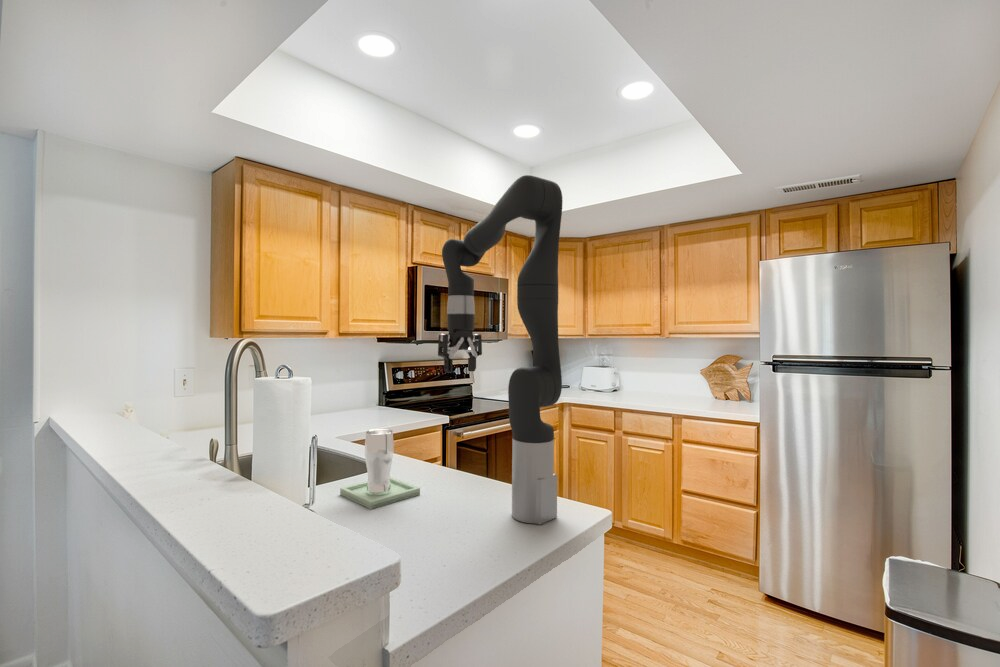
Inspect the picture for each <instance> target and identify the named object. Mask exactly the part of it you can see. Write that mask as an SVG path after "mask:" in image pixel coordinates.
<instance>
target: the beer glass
mask: <svg viewBox="0 0 1000 667" xmlns="http://www.w3.org/2000/svg"><path fill="white" fill-rule="evenodd" d="M393 432H394V430H392V429H387V428H377V429H370V430H366V431H365V439H364V460H365V466H366V471H367V472H366V473H367V481H368V484H367V489H366V493H367V494H368V495H372V496H381V495H386V494H388V493H390V492H391V484H390V477H391V471H392V465H393V464H392V463H393V458H394V447H395V446H394V435H393V434H394V433H393Z"/></svg>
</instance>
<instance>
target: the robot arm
mask: <svg viewBox="0 0 1000 667" xmlns="http://www.w3.org/2000/svg"><path fill="white" fill-rule="evenodd" d="M562 215H563V193H562V190H561V187H560V185H559V184H557V183H556V182H555V181H552V180H550V179H545V178H542V177H539V176H534V175H528V174H525V175H522V176H519V177H518V178H517V179H516V180H515V181H514V182H512V184H511V185H510V186H509V187H508V188H507V189H506V190H505V192H504V193H503V194H502V196H501V197H500V198H499V200H498V201H497V202H496V203H495V205H494V206H493V207H492V209H490V210H489V212H488V214H486V215H485V216H484V218H482V219H481V220H480V221H479V222H477V223H476V224H475V225H474V226H473V227H471V228H470V229H468V231H467V232H466V233H465V235H464V237H463V239H456V238H450V239H447V240H446V241H445V242H444V243H443V246H442V249H441V256H442V261H443V265H444V269H445V273H446V278H447V282H448V287H447V288H448V290H447V292H448V293H447V294H448V295H447V298H448V299H447V304H446V311H447V312H446V319H447V320H446V329H447V330H448V333H440V334H438V344H437V356H438V357H441V358H443V368H444V369H443V370H444V372H445V373H447V374H453V372H454V370H453V367H454V365H453V362H454V360H453V357H454V355H455V353H457V352H458V351H464V352H465V353H466V354H467V356H468V358H467V363H468V364H467V371H468V372H475V371H476V369H477V358H478V357H479V356H482V355H483V344H482V340H483V338H482V334H479V333H474V332H473V331H474V330H475V324H476V323H475V321H476V320H475V318H476V317H475V315H476V314H475V312H476V310H475V308H476V307H475V306H476V304H475V288H474V287H475V286H474V285H475V283H474V282H475V280H474V278H473V276H471V275H470V274H467V273H465V272H463V270H462V268H461V267H465V268H466V267H467V268H470V267H474V266H477V264H479V263H480V262H481V260H482V258H483V257H484V255H485V254H486V252H488V251H489V250H491V248H493V247H495V246H496V245H497V244H498V243H500V242H501V240H502V238H503V237H504V235H505V232H506V226H507V224H508V223H510V222H512V221H514V220H516V219H518V218H521V219H525V220H530V221H535V222H534V224H535V230H534V231H535V232H534V242H533V246H532V248H531V251H530V253H529V254H528V256H527V258H526V260H525V261H524V263H523V265H522V267H521V269H520V271H519V274H518V276H517V283H516V286H517V287H516V289H517V290H516V294H517V296H516V298H517V299H516V303H517V304H516V305H517V310H518V314H519V317H520V319H521V321H522V323H523V325H524V328H525V329H526V331H527V333H528V336H529V339H530V342H531V345H532V351H533V355H532V356H533V366H523V367H518V368H516V369H514V371H513V372H512V373H511V375H510V377H509V381H508V385H507V387H508V388H507V394H508V396H507V397H508V399H507V400H508V419H509V425H510V429H511V432H512V440H511V441H512V444H511V445H512V446H511V447H512V451H511V452H512V453H511V454H512V455H511V456H512V457H511V458H512V459H511V464H512V465H511V516H512V518H513V519H515V520H516V521H518V522H522V523H527V524H536V525H540V526H541V525H543V524H545V523H548V522H549V521H551V520H554V519H556V518H557V517H558V473H557V474H556V473H554V472H555V470H554V469H555V468H554V465H555V464H554V461H555V460H554V454H555V452H554V451H555V449H554V448H555V429H554V427H553V425H552V424H550V423H546V422H544V421H543V420H542V418H541V408H545V407H551V406H553V405H555V404H556V403H557V402H558V401H559V399H560V397H561V395H562V388H563V386H562V385H563V378H562V368H561V367H562V366H561V357H560V347H559V346H560V345H559V317H558V316H559V312H558V311H559V248H560V244H559V243H560V234H561V233H560V232H561V227H562V226H561V225H562V224H561V223H562Z"/></svg>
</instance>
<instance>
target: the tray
mask: <svg viewBox="0 0 1000 667" xmlns="http://www.w3.org/2000/svg"><path fill="white" fill-rule="evenodd" d="M367 484H368V480H367V481H364V482H360V483H355V484H352V485H347V486H343V487H340V488H339V489H340V490H339V493H340V496H342V497H344V498H347V499H349V500H351V501H353V502H355V503H356V504H360V505H362V506H364V507H365V508H367V509H369V510H373V509H375V508H380V507H383V506H386V505H390V504H393V503H396V502H399V501H402V500H406V499H410V498H412V497H416V496H419V495H421V488H420V487H419V486H415V485H413V484H410V483H408V482H405V481H402V480H401V479H397V478H394V477H392V476H390V484H391V492H390V493H388V494H386V495H381V496H372V495H368V494H367V493H366V489H367Z"/></svg>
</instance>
